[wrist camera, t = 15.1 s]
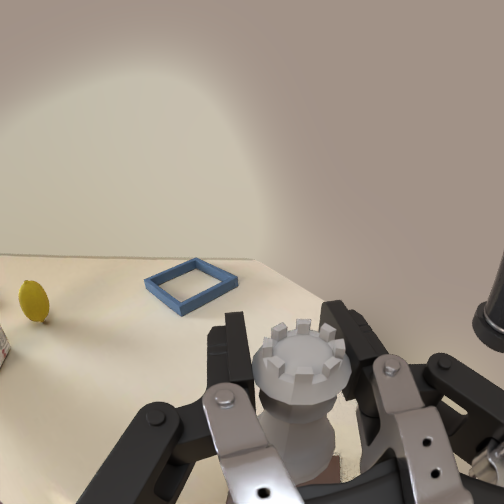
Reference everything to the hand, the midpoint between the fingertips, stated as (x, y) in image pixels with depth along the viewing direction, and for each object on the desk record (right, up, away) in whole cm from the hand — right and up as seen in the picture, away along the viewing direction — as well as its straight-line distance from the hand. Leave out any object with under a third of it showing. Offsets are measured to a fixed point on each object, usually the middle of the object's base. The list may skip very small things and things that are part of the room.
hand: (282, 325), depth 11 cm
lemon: (-37, -9, +24) cm, 45 cm away
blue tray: (-12, -3, +35) cm, 37 cm away
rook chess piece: (+1, -7, 0) cm, 7 cm away
